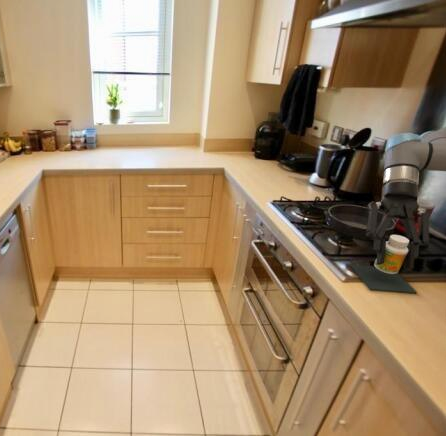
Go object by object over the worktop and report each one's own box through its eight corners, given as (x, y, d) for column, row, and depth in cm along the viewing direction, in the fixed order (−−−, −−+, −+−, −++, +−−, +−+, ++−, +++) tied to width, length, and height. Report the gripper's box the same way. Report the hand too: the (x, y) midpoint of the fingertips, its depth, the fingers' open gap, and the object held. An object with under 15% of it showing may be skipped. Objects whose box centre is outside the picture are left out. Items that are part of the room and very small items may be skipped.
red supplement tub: (420, 228, 113) (433, 200, 108) (423, 237, 107) (437, 209, 102) (393, 222, 117) (405, 195, 112) (394, 231, 111) (407, 203, 106)
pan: (372, 215, 123) (376, 205, 121) (405, 242, 105) (410, 232, 103) (316, 212, 126) (319, 203, 124) (339, 238, 108) (343, 228, 106)
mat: (391, 268, 93) (391, 267, 93) (416, 294, 83) (417, 292, 83) (350, 266, 94) (351, 264, 94) (370, 290, 85) (370, 288, 85)
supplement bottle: (371, 268, 87) (384, 238, 83) (375, 260, 91) (388, 231, 86) (396, 277, 84) (411, 246, 79) (399, 268, 87) (414, 238, 83)
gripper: (433, 196, 88) (430, 276, 83) (355, 187, 95) (348, 261, 89) (451, 185, 81) (449, 272, 76) (365, 176, 88) (358, 255, 83)
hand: (394, 266), depth 83 cm, fingers closed on supplement bottle, 5 cm apart
